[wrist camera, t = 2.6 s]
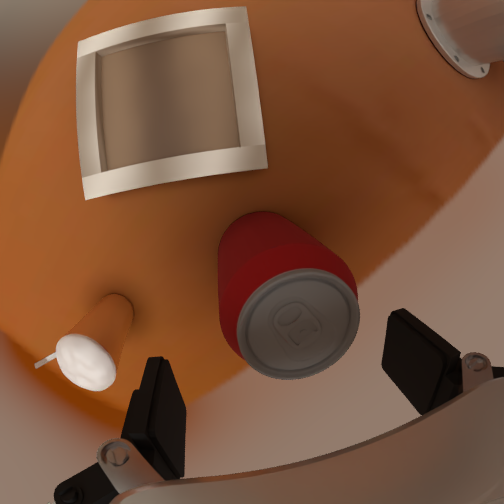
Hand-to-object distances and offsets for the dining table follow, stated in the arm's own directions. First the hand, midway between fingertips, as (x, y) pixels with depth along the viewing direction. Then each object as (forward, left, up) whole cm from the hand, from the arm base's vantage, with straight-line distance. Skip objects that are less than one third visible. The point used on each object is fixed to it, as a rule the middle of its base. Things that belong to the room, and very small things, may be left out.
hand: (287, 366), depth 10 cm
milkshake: (+13, +2, -13) cm, 18 cm away
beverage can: (-1, -1, -13) cm, 13 cm away
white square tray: (+5, -13, -13) cm, 19 cm away
